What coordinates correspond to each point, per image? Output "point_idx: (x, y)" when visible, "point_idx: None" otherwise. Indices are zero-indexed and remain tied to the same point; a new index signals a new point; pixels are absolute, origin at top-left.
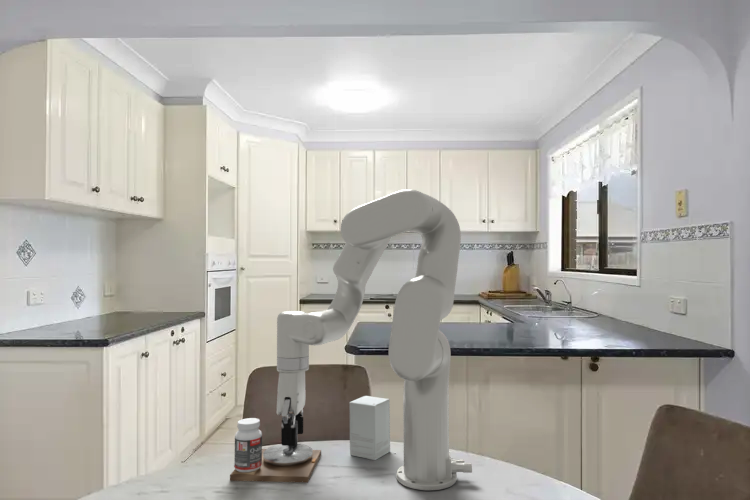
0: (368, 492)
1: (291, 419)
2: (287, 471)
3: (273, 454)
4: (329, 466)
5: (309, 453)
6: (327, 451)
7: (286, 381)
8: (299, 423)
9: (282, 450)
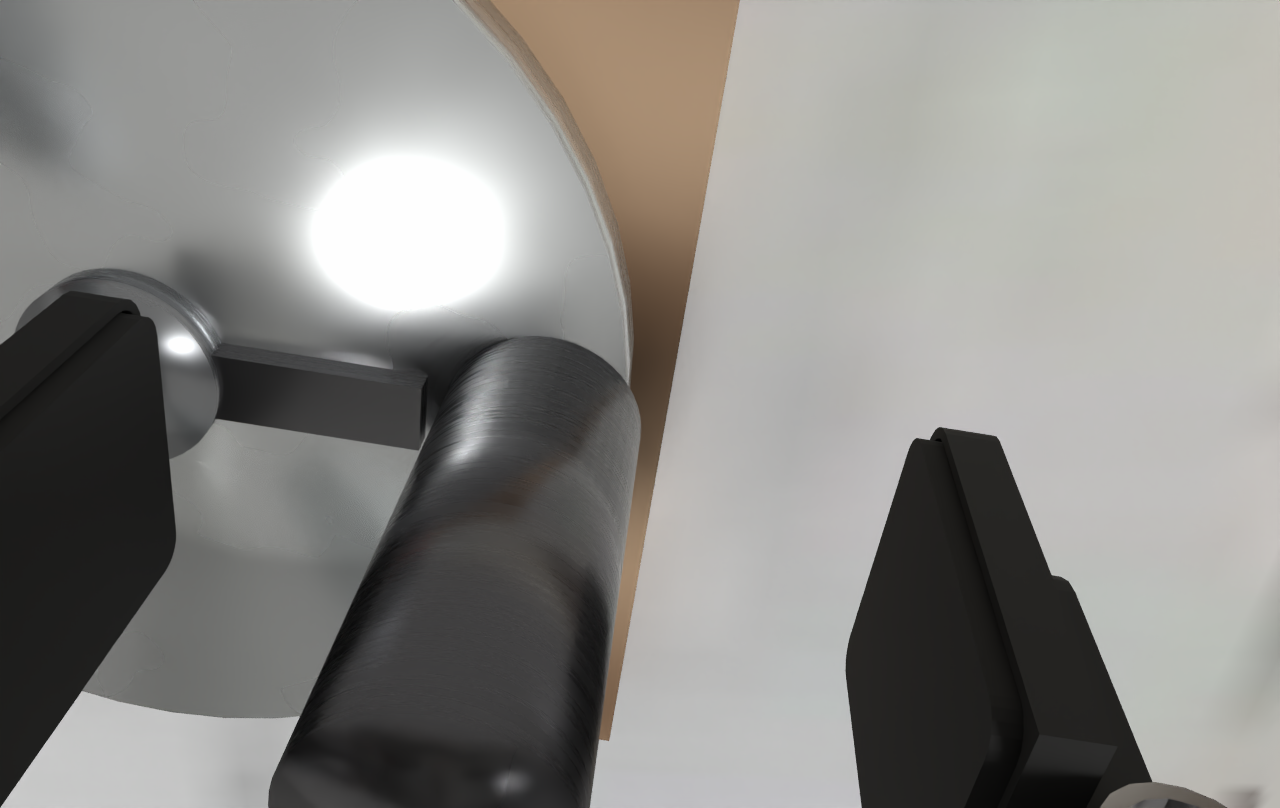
0: None
1: (971, 722)
2: None
3: None
4: (225, 749)
5: (109, 679)
6: (762, 752)
7: None
8: (881, 804)
9: (179, 248)
